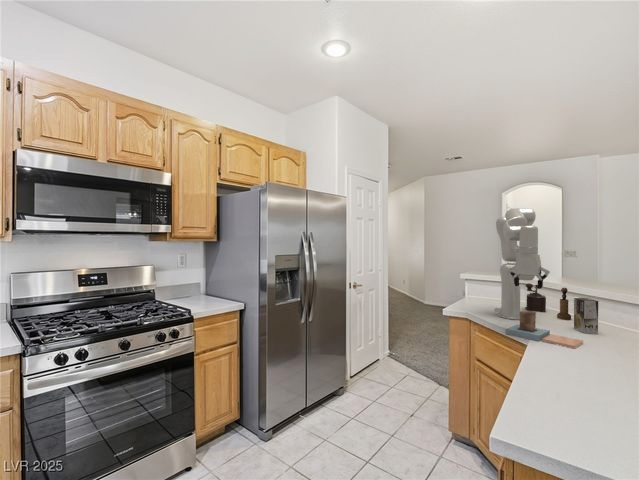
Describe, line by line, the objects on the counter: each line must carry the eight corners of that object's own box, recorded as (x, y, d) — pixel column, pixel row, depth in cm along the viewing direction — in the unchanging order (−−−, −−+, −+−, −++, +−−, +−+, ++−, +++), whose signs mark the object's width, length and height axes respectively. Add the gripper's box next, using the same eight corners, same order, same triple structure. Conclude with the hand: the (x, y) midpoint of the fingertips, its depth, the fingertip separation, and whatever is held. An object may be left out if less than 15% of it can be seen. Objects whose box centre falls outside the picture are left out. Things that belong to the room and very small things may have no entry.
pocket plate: (505, 333, 157) (505, 328, 157) (517, 329, 165) (517, 324, 165) (538, 341, 146) (538, 335, 146) (549, 335, 154) (549, 330, 154)
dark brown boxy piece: (525, 307, 218) (525, 280, 217) (545, 309, 212) (545, 282, 211) (525, 311, 204) (525, 283, 204) (546, 314, 198) (546, 285, 198)
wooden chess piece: (554, 317, 191) (554, 286, 191) (564, 317, 191) (564, 286, 191) (563, 320, 184) (563, 288, 184) (574, 320, 185) (574, 288, 184)
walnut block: (519, 334, 156) (519, 311, 156) (523, 332, 159) (524, 310, 159) (531, 337, 152) (531, 313, 152) (535, 335, 155) (535, 312, 155)
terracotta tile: (542, 341, 145) (542, 338, 145) (551, 336, 153) (551, 334, 153) (574, 348, 136) (574, 345, 136) (583, 343, 143) (583, 340, 143)
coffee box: (598, 334, 157) (599, 301, 157) (583, 333, 159) (584, 300, 158) (587, 329, 166) (587, 297, 166) (573, 328, 167) (573, 297, 167)
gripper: (505, 251, 160) (505, 285, 160) (546, 252, 146) (546, 290, 146) (512, 250, 164) (511, 284, 164) (552, 252, 150) (552, 288, 151)
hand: (528, 287), depth 155 cm, fingers open, 9 cm apart
